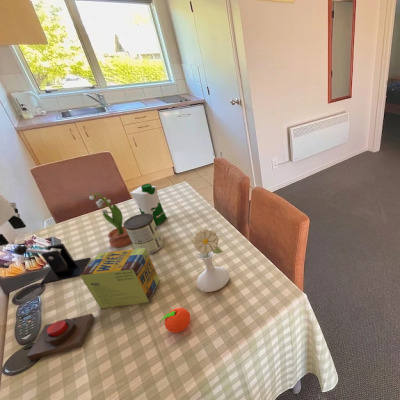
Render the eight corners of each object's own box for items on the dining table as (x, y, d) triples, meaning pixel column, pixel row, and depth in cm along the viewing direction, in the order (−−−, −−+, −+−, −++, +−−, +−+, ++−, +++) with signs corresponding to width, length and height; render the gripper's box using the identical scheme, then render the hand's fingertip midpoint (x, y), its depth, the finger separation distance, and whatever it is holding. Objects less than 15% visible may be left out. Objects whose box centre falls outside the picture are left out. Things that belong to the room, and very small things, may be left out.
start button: (47, 338, 75) (43, 334, 74) (54, 326, 79) (51, 322, 78) (64, 334, 76) (61, 330, 76) (70, 322, 80) (67, 318, 79)
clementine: (163, 342, 78) (155, 327, 74) (165, 323, 83) (158, 308, 80) (193, 332, 80) (187, 317, 77) (192, 314, 86) (187, 299, 82)
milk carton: (158, 227, 127) (143, 190, 117) (141, 225, 128) (125, 189, 118) (169, 216, 135) (157, 181, 125) (153, 215, 136) (139, 180, 126)
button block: (30, 360, 74) (22, 352, 72) (49, 329, 82) (42, 321, 80) (82, 346, 77) (75, 338, 75) (95, 317, 85) (89, 309, 83)
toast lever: (12, 255, 92) (11, 248, 90) (17, 250, 94) (17, 242, 93) (57, 259, 97) (58, 252, 96) (61, 253, 100) (62, 246, 99)
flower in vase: (190, 289, 94) (169, 234, 82) (212, 267, 104) (196, 214, 91) (220, 300, 90) (203, 243, 78) (240, 276, 100) (228, 221, 87)
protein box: (150, 302, 90) (133, 269, 82) (100, 309, 88) (78, 275, 80) (160, 279, 99) (146, 247, 91) (115, 284, 97) (97, 252, 89)
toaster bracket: (42, 286, 97) (23, 262, 91) (55, 267, 105) (39, 244, 99) (81, 277, 100) (66, 253, 94) (91, 260, 108) (78, 237, 102)
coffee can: (133, 247, 115) (120, 220, 108) (158, 236, 121) (148, 210, 114) (139, 258, 109) (126, 231, 101) (166, 246, 115) (156, 220, 108)
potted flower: (101, 247, 115) (74, 197, 102) (120, 233, 123) (96, 186, 110) (126, 250, 113) (100, 200, 100) (143, 236, 121) (121, 187, 109)
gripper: (-18, 182, 87) (13, 224, 96) (-63, 209, 73) (-21, 255, 82) (10, 178, 90) (39, 220, 98) (-27, 203, 75) (10, 249, 84)
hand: (12, 236), depth 90 cm, fingers open, 9 cm apart
